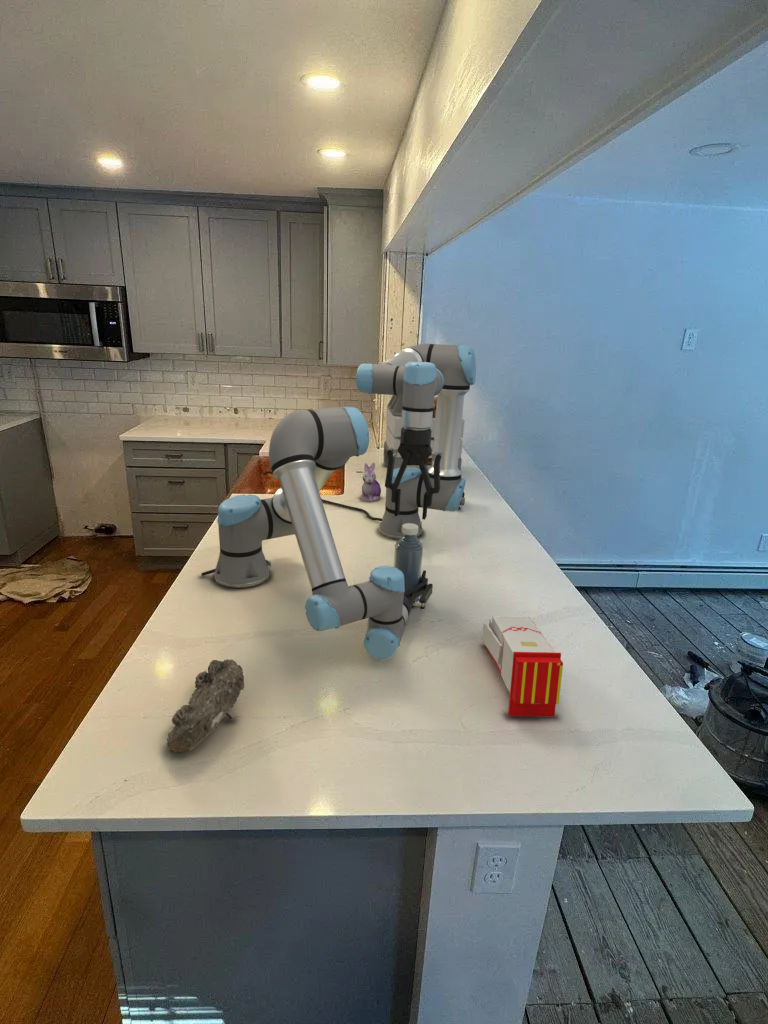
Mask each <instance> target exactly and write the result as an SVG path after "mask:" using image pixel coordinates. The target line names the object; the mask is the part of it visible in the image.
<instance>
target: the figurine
mask: <svg viewBox="0 0 768 1024" xmlns="http://www.w3.org/2000/svg"><path fill="white" fill-rule="evenodd" d="M363 468H364V470H363V471H364V472H363V474H362V481H363V483H362V485H361V496H360V498H361V500H362V501H364V502H373V501H377V500H380V499H381V495H382V487H381V484H380V482H379V481H378V480H376V479H377V476H376V473H375V468H376V462H372V463H371V465H370V466H369V464H367V462H365V463H364V464H363Z"/></svg>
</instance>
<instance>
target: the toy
mask: <svg viewBox="0 0 768 1024" xmlns="http://www.w3.org/2000/svg"><path fill="white" fill-rule="evenodd" d="M481 632H482V633H481V640H482V642H483V644H484V646H485V648H486V650H487V652H488V654H489V655H490V657H491V659H492V661H493V663H494V664H495V666H496V668H497V670H498V671H499V674H500V676H501V678H502V680H503V682H504V684H505V687H506V688H507V690H508V692H509V700H508V702H509V703H508V710H507V711H508V712H507V715H508V717H551V718H552V717H553V718H555V716H556V707H557V705H559V704H560V698H561V697H560V695H561V688H562V687H561V686H562V678H563V669H564V662H563V661H562V653H561V652H556V651H555V649H554V648H553V647H552V645H551V644H550V643H549V641H548V639H547V638H546V637H545V635H544V634H543V633H542V631H541V630H540V629H539V628H538V626H537V624H536V622H535V621H534V620H533V619H532V617H531V616H514V615H513V616H512V615H511V616H508V615H507V616H506V615H505V616H504V615H492V618H489V620H488V623H487V621H483V623H482V631H481Z"/></svg>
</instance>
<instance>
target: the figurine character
mask: <svg viewBox="0 0 768 1024" xmlns="http://www.w3.org/2000/svg"><path fill="white" fill-rule="evenodd" d="M465 503H466V498H465V490H464V491H463V495H462V499H461V502H460V505H459V507H458V509H457V510H462V509H461V507H464V506H465V505H466V504H465Z"/></svg>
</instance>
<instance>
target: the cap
mask: <svg viewBox="0 0 768 1024" xmlns="http://www.w3.org/2000/svg"><path fill="white" fill-rule="evenodd" d="M402 533H403V534H406V535H416V534H418V525H416V524H412V523H406V524H403V525H402Z"/></svg>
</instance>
